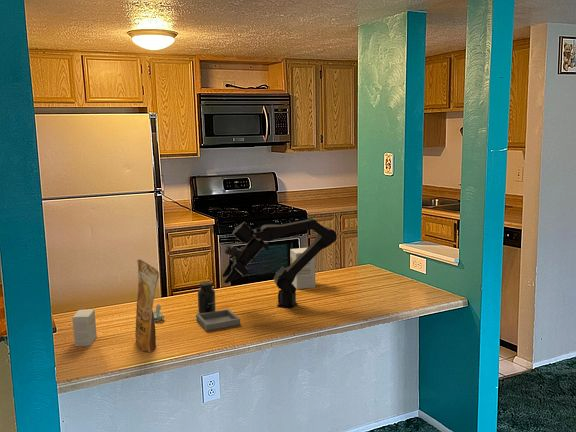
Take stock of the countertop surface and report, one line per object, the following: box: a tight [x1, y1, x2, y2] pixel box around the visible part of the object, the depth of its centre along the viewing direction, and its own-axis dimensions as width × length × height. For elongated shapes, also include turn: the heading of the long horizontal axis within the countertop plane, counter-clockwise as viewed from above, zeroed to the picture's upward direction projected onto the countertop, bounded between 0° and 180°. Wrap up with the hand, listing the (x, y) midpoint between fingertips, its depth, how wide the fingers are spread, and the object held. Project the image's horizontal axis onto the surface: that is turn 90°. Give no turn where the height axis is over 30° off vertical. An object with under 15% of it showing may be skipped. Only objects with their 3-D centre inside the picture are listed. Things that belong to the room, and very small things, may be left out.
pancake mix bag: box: [134, 259, 160, 353], centre depth 185 cm, size 7×19×28 cm, turn 26°
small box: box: [72, 308, 98, 347], centre depth 189 cm, size 8×6×10 cm
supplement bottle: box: [197, 281, 217, 314], centre depth 217 cm, size 7×7×12 cm
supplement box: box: [289, 247, 316, 290], centre depth 250 cm, size 10×9×17 cm
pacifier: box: [153, 303, 165, 323], centre depth 210 cm, size 7×6×6 cm
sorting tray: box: [195, 308, 241, 332], centre depth 205 cm, size 13×13×2 cm
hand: (224, 279), depth 217 cm, fingers open, 9 cm apart
